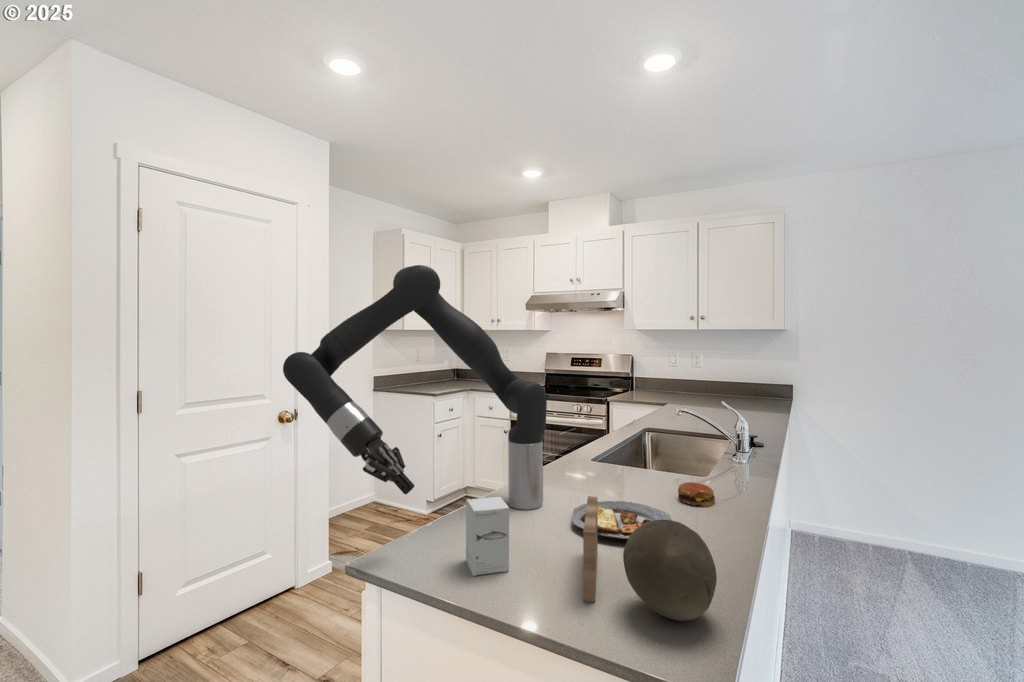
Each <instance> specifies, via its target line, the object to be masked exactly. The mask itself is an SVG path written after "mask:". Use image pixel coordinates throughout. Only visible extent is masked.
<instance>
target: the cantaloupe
mask: <svg viewBox="0 0 1024 682" xmlns="http://www.w3.org/2000/svg"><path fill="white" fill-rule="evenodd" d="M622 556H623V566H624V570H625V575H626V578H627V581H628V583H629V585H630V586H631V588H632V590H633V591H634V592H635V594H636V595H637V596H638V598H639V599H640V600H642V602H643V603H644V604H645V605H646V606H647V607H649V608H650V609H651V610H653V612H656V613H657V614H658V615H661V616H663V617H665V618H667V619H671V620H674V621H679V622H683V621H684V622H685V621H687V622H688V621H692V620H695V619H698V618H700V617H701V616H702V615H704V613H706V612H707V611H708V609H709V608H710V606H711V603H712V600H713V598H714V595H715V591H716V586H717V569H716V564H715V561H714V559H713V556H712V554H711V550H709V547H708V545H707V543H706V542H705V541H704V539H703V538H702V537H701V536H700V535H699V533H698V532H696V531H695V530H693V529H692V528H690V527H689V526H687V525H685V524H683V523H681V522H679V521H676V520H672V519H671V520H653V521H648V522H646V523H644V524H643V525H641V526H639V527H638V528H637V529H635V530H634V531H633V533H632V534H631V535H630V536H629V538H628V540H626V543H625V545H624V548H623V555H622Z"/></svg>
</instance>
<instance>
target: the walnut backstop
mask: <svg viewBox="0 0 1024 682" xmlns="http://www.w3.org/2000/svg"><path fill="white" fill-rule="evenodd" d="M598 502H599V500H598V496H591V495H589V496H587V501H586V504H587V507H586V515H585V523H584V530H582V532H583V533H582V535H583V538H582V539H583V541H582V542H583V543H582V546H583V551H582V552H583V553H582V554H583V555H582V556H583V557H582V558H583V559H582V560H583V561H582V562H583V563H582V565H583V567H582V568H583V569H582V570H583V571H582V572H583V575H582V576H583V577H582V580H583V584H582V585H583V587H582V588H583V593H582V594H583V595H582V597H583V599H582V601H583V602H585V603H586V602H588V603H589V602H590V603H596V595H597V594H596V592H597V591H596V590H597V575H598V574H597V572H598V571H597V570H598V569H597V568H598V535H597V532H598Z"/></svg>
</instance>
